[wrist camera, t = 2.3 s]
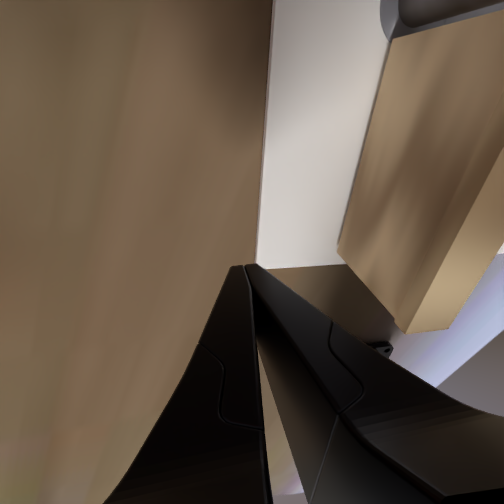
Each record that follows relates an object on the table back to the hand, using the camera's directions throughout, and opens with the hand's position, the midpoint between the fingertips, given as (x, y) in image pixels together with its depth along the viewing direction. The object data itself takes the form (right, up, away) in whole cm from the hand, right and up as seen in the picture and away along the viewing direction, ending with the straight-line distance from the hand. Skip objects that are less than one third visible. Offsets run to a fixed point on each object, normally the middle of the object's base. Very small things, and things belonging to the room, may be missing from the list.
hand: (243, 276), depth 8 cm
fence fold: (+6, +5, +3) cm, 8 cm away
